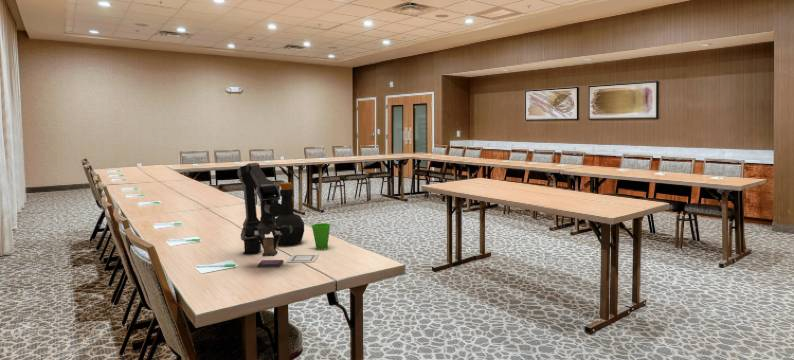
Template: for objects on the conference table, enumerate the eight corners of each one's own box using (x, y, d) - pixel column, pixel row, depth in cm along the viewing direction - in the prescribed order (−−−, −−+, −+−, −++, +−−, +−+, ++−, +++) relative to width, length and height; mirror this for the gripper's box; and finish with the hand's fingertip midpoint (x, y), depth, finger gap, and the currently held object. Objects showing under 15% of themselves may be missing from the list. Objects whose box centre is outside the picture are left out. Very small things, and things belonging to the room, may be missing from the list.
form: (286, 262, 206) (286, 261, 206) (292, 255, 217) (292, 254, 217) (314, 262, 205) (314, 261, 205) (319, 255, 216) (319, 254, 216)
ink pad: (257, 267, 200) (257, 264, 200) (262, 262, 207) (262, 259, 207) (279, 266, 200) (279, 264, 200) (283, 262, 207) (283, 259, 207)
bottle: (310, 244, 236) (307, 183, 233) (276, 249, 228) (273, 185, 225) (299, 237, 250) (297, 179, 246) (267, 242, 242) (264, 182, 238)
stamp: (262, 256, 200) (261, 239, 200) (265, 253, 205) (265, 237, 205) (274, 256, 200) (273, 239, 199) (277, 253, 205) (276, 236, 204)
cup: (327, 250, 224) (326, 227, 222) (309, 250, 225) (308, 226, 224) (334, 245, 232) (333, 223, 231) (316, 245, 234) (315, 222, 233)
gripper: (238, 217, 193) (241, 255, 195) (285, 216, 193) (287, 255, 194) (248, 212, 204) (250, 248, 206) (292, 211, 204) (293, 247, 206)
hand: (269, 250), depth 203 cm, fingers closed on stamp, 4 cm apart
